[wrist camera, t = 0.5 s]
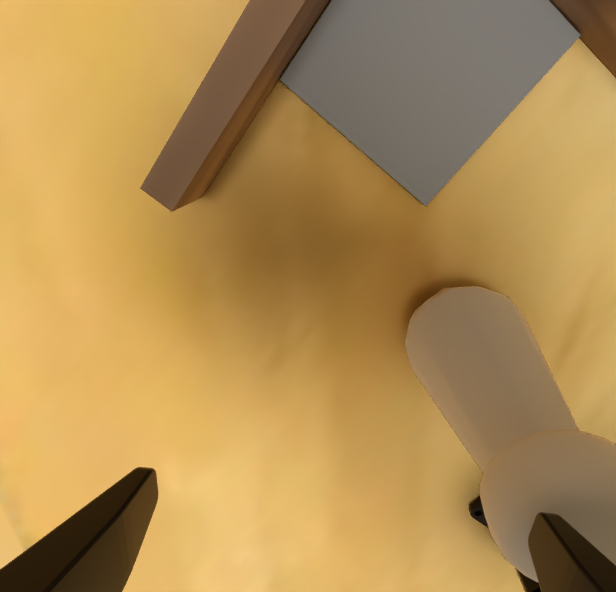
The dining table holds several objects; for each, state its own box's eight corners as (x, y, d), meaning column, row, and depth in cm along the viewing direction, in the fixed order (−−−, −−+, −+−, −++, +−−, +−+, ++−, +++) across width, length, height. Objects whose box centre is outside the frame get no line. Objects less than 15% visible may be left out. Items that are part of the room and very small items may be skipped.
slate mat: (575, 37, 16) (580, 35, 16) (423, 204, 19) (425, 206, 19) (420, -131, 15) (422, -138, 14) (281, 81, 18) (280, 80, 17)
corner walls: (732, 141, 17) (839, 144, 14) (450, 385, 23) (472, 433, 19) (419, -216, 14) (450, -344, 10) (176, 177, 20) (140, 188, 16)
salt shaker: (481, 251, 20) (701, 427, 8) (523, 337, 22) (756, 589, 10) (379, 304, 21) (435, 520, 9) (425, 381, 23) (523, 647, 11)
